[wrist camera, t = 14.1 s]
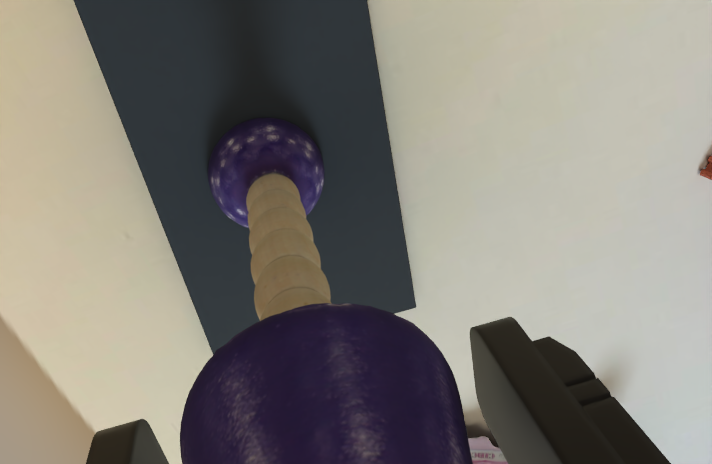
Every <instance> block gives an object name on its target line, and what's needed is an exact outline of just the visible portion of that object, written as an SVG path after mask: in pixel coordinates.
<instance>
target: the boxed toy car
mask: <svg viewBox="0 0 712 464" xmlns="http://www.w3.org/2000/svg"><path fill="white" fill-rule="evenodd" d="M468 441H469V447H470V452H471V457H472V462H473V464H508V462H507V461H506V459H505V457H504V455H503V453H502V451H501V449H500V448H498V447H494V446H493V445H492V444H491V442H490V441H489V438H487V437H484V436H481V437H479V438H468Z"/></svg>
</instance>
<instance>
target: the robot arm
mask: <svg viewBox="0 0 712 464" xmlns="http://www.w3.org/2000/svg"><path fill="white" fill-rule="evenodd" d="M470 342H471V351H472V360H473V370H474V379H475V388H476V394H477V398H478V402H479V405H480V409H481V411H482V414H483V417H484V419H485V421H486V423H487V425H488V427H489V429H490V431H491V433H492V435H493V436H494V438H495V440H496V442H497V444H498V446H499V448H500V449H501V451H502V453H503V455H504V457H505V459H506V461H507V462H508V464H671V463H670V462H669V461H668V460H667V459H666V457H665V456H664V455H663V454H662V453H661V451H660V450H659V449H658V448H657V447H656V446H655V444H654V443H653V442H652V441H651V440H650V439H649V437H648V436H647V435H646V434H645V433H644V432H643V430H642V429H641V428H640V427H639V426H638V424H637V423H636V422H635V421H634V420H633V419H632V417H631V416H630V415H629V414H628V413H627V412H626V410H625V409H624V408H623V407H622V406H621V405H620V403H619V402H618V401H617V400H616V399H615V398H614V397H611V395H610V392H609V390H608V389H607V388H606V387H605V386H604V385H603V383H602V382H601V381H600V380H599V379H598V378H597V379H596V378H595V375H594V373H593V372H592V371H591V369H590V368H589V367H588V366H587V365H586V363H585V362H584V361H583V360H582V359H581V358H580V356H579V355H578V354H577V353H576V352H575V351H573V350H571V349H570V348H568V347H566V346H564V345H563V344H561V343H559V342H557V341H556V340H554V339H552V338H550V337H546V338H542V339H539V340H535V341H531V339H530V338H529V337H528V335H527V334H526V333H525V332H524V330H523V329H522V328H521V326H520V325H519V324H518V322H517V321H516V320H515V319H514V318H512V317H507V318H504V319H500V320H497V321H493V322H490V323H486V324H482V325H479V326H475V327H472V328H471V329H470ZM86 464H169V463H168V461H167V459H166V457H165V455H164V453H163V451H162V449H161V447H160V445H159V443H158V441H157V439H156V437H155V435H154V433H153V431H152V429H151V427H150V425H149V424H148V422H147V421H146V420H144V419H140V420H137V421H133V422H130V423H126V424H123V425H119V426H115V427H112V428H108V429H105V430H101V431H98V432H97V433H96V434H95V435H94V437H93V440H92V443H91V447H90V451H89V455H88V458H87V462H86Z"/></svg>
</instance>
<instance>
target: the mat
mask: <svg viewBox="0 0 712 464" xmlns="http://www.w3.org/2000/svg"><path fill="white" fill-rule="evenodd" d="M74 2H75V5H76V8H77V10H78V13H79V15H80V18H81V20H82V23H83V25H84V28H85V30H86V33H87V35H88V38H89V41H90V43H91V46H92V48H93V51H94V53H95V56H96V58H97V61H98V63H99V66H100V68H101V71H102V73H103V76H104V79H105V81H106V84H107V86H108V89H109V91H110V94H111V96H112V99H113V101H114V104H115V106H116V109H117V111H118V114H119V117H120V119H121V122H122V124H123V127H124V129H125V132H126V134H127V137H128V139H129V142H130V144H131V147H132V150H133V152H134V155H135V157H136V160H137V162H138V165H139V167H140V170H141V172H142V175H143V177H144V180H145V182H146V185H147V188H148V190H149V193H150V195H151V198H152V200H153V203H154V205H155V208H156V210H157V213H158V215H159V218H160V220H161V223H162V226H163V228H164V231H165V233H166V236H167V238H168V241H169V243H170V246H171V248H172V251H173V253H174V256H175V258H176V261H177V264H178V266H179V269H180V271H181V274H182V276H183V279H184V281H185V284H186V286H187V289H188V291H189V294H190V297H191V299H192V302H193V304H194V307H195V309H196V312H197V314H198V317H199V319H200V322H201V324H202V327H203V329H204V332H205V335H206V337H207V340H208V342H209V345H210V347H211V350H212V352H213V355H214V353H215V352H216V350H217V349H219V348H220V347H222V346H224V345H225V344H227V343H228V342H229V341H230V340H231V339H232V338H233V337H234V336H235V335H237V334H238V333H240V332H241V331H243V330H245V329H247V328H248V327H250V326H252V325H253V324H255V323H257V322H259V321H260V319H259V317H258V315H257V312H256V309H255V303H254V291H255V286H256V285H255V283H254V281H253V278H252V274H251V258H252V254H251V250H250V246H249V235H250V229H249V228H246V227H243V226H242V225H240V224H238V223H236V222H235V221H233V220H232V219H230V218H229V217H228V216H227V215H226V214H225V213H223V211H222V210H221V209H220V207H219V206H218V204H217V203H216V201H215V199H214V197H213V195H212V193H211V190H210V186H209V181H208V165H209V160H210V157H211V154H212V151H213V149H214V147H215V146H216V145H217V143H218V142H219V140H220V139H221V138H222V137H223V135H224V134H225V133H226V132H228V131H229V130H231V129H232V128H233V127H234V126H236V125H238V124H240V123H242V122H245V121H247V120H251V119H256V118H276V119H282V120H285V121H288V122H290V123H292V124H295V125H297V126H298V127H299V128H300V129H302V130H303V131H304V132H305V133H307V134H308V135H309V136H310V137H311V139H312V140H313V141H314V142H315V144H316V145H317V147H318V148H319V150H320V153H321V156H322V159H323V164H324V170H325V172H324V185H323V189H322V192H321V195H320V198H319V200H318V201H317V203H316V205H315V206H314V208H313V209H312V210H311V212H310V213H309V214H308V215H307V216H306V220H307V221H308V223H309V225H310V227H311V229H312V233H313V243H314V244H315V246H316V248H317V250H318V252H319V255H320V261H321V270H322V272H323V273H324V275H325V276H326V278H327V281H328V284H329V287H330V295H331V299H330V302H331V303H332V304H344V303H350V304H358V305H365V306H372V307H374V308H378V309H381V310H385V311H388V312H391V313H393V314H394V313H398V312H401V311H405V310H409V309H412V308H416V303H415V297H414V291H413V284H412V278H411V272H410V266H409V260H408V253H407V247H406V241H405V235H404V228H403V222H402V216H401V210H400V203H399V197H398V191H397V185H396V178H395V172H394V166H393V160H392V153H391V147H390V141H389V135H388V129H387V122H386V116H385V110H384V104H383V97H382V91H381V85H380V79H379V72H378V66H377V60H376V54H375V47H374V41H373V35H372V29H371V23H370V16H369V10H368V4H367V0H74Z"/></svg>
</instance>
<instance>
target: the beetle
mask: <svg viewBox="0 0 712 464" xmlns="http://www.w3.org/2000/svg"><path fill="white" fill-rule="evenodd" d="M708 162H709V164H708V166H707V167H706V169H703V170H701V172H700V175H702V176H704V177H706V178H709V179H711V180H712V156H710V157H709V159H708Z"/></svg>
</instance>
